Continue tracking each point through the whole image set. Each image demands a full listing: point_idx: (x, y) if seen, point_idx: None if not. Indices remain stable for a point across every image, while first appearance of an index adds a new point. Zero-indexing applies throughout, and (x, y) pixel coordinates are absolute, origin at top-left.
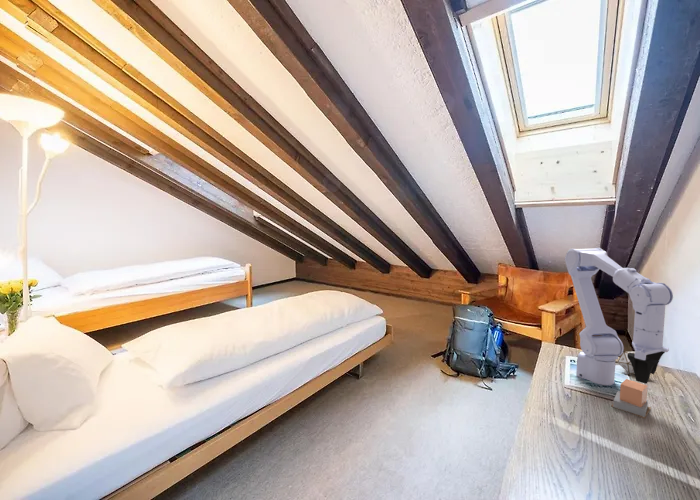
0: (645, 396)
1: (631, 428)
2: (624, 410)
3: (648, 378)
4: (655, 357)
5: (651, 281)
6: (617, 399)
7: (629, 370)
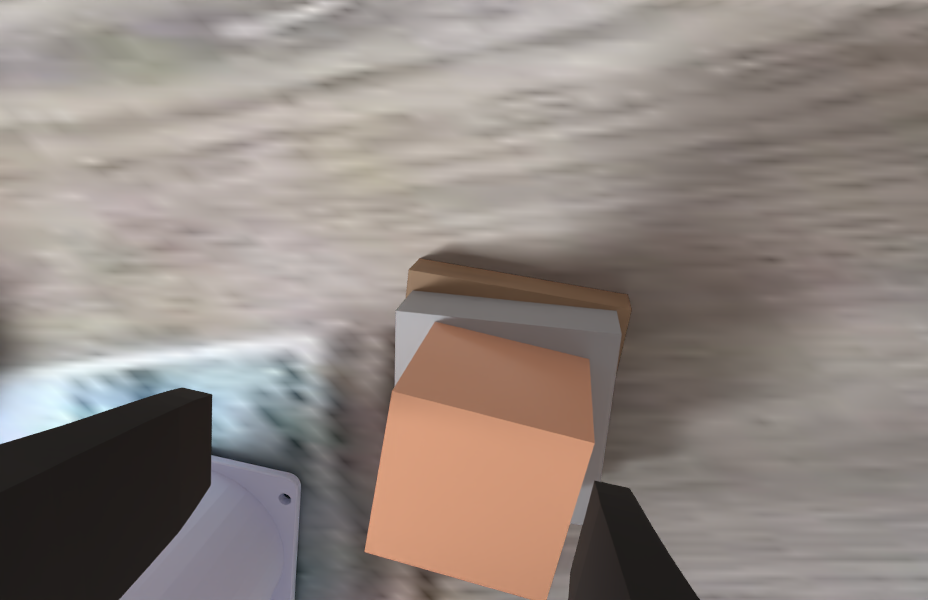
0: (469, 358)
1: (768, 367)
2: None
3: (660, 540)
4: None
5: None
6: None
7: None
